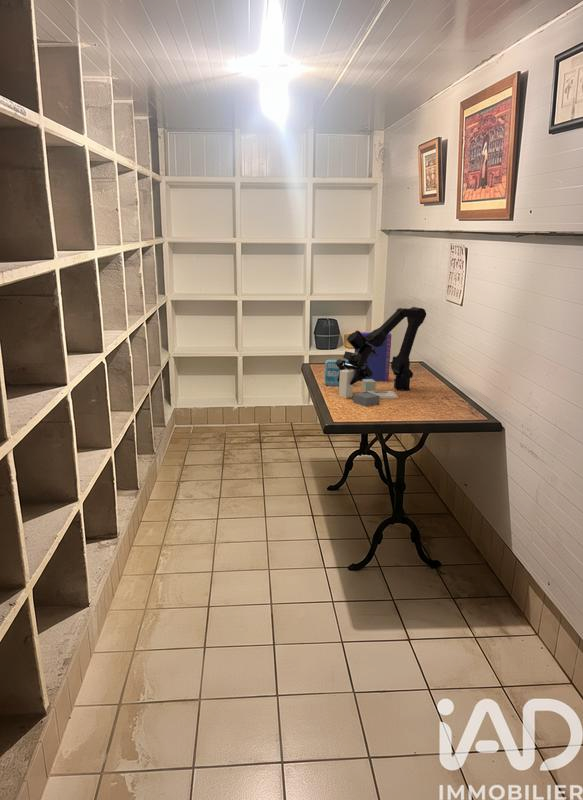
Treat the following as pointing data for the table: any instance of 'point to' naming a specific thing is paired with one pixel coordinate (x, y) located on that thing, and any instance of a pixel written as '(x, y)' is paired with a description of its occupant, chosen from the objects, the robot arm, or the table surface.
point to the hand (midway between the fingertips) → (344, 382)
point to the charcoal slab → (366, 398)
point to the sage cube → (368, 385)
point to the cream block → (346, 383)
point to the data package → (332, 372)
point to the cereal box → (379, 360)
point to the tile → (384, 394)
